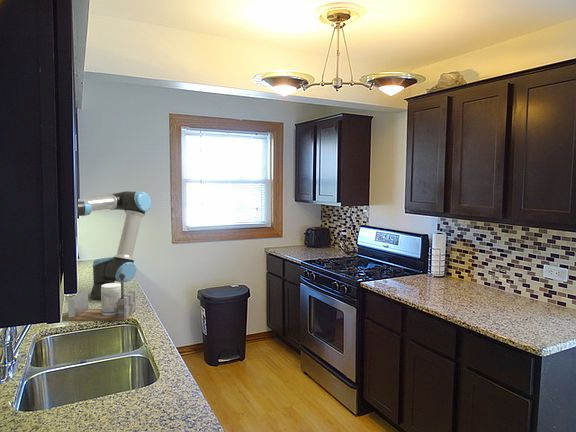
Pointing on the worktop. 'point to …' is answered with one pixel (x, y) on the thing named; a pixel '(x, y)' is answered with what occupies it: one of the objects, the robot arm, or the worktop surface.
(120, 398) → the worktop surface
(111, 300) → the supplement tub
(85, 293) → the front jaw
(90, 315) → the vise bed
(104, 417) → the worktop surface
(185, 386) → the worktop surface
